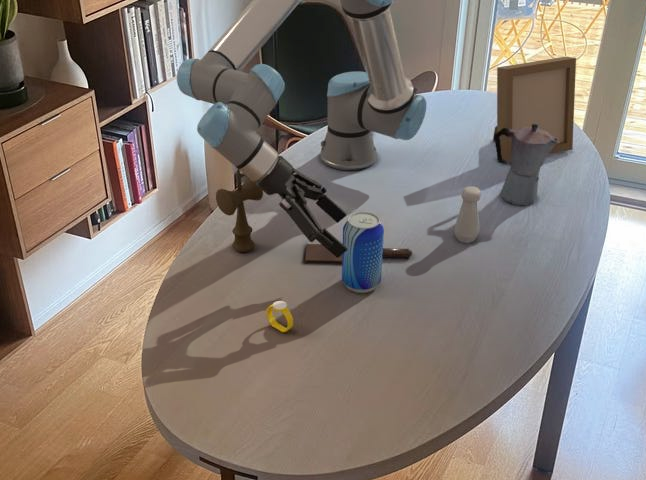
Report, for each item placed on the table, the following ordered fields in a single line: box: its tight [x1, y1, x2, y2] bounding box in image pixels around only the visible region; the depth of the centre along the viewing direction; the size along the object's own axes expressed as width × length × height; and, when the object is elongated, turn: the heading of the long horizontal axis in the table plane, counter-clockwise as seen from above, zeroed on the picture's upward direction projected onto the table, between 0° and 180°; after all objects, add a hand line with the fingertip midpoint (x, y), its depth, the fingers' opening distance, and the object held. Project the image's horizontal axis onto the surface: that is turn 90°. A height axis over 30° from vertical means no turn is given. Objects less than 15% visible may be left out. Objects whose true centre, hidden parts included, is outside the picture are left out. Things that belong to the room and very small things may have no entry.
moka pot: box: [493, 124, 559, 206], centre depth 202 cm, size 10×15×20 cm, turn 78°
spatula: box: [304, 243, 413, 264], centre depth 185 cm, size 24×7×2 cm, turn 89°
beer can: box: [341, 211, 385, 294], centre depth 172 cm, size 8×8×16 cm
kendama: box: [215, 168, 264, 253], centre depth 182 cm, size 6×10×20 cm, turn 138°
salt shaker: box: [453, 186, 482, 244], centre depth 188 cm, size 6×6×13 cm
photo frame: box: [492, 56, 577, 164], centre depth 223 cm, size 15×22×25 cm
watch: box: [266, 300, 294, 333], centre depth 162 cm, size 6×3×6 cm, turn 51°
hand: (342, 235), depth 169 cm, fingers open, 13 cm apart
